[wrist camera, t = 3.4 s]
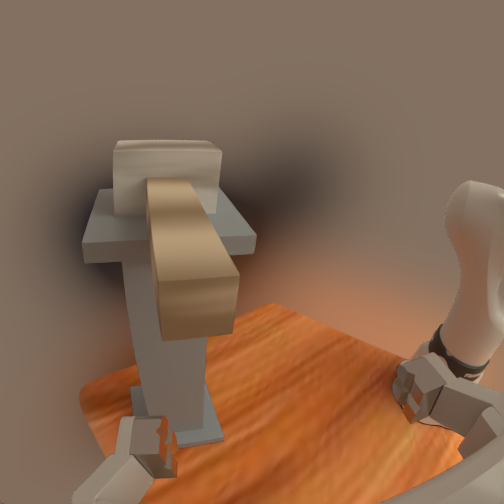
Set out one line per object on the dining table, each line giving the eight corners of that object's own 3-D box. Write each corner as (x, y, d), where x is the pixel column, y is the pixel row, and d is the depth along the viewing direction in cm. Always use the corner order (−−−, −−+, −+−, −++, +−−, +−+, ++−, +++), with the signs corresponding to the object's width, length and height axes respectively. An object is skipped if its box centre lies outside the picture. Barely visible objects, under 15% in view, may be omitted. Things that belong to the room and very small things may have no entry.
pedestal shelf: (204, 383, 46) (218, 186, 30) (223, 441, 37) (256, 235, 22) (131, 391, 41) (99, 189, 26) (140, 452, 32) (81, 243, 17)
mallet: (118, 195, 25) (118, 140, 23) (203, 193, 28) (208, 141, 26) (103, 345, 11) (81, 232, 8) (284, 325, 14) (310, 225, 11)
